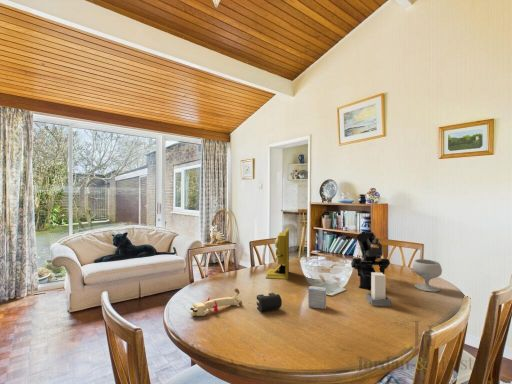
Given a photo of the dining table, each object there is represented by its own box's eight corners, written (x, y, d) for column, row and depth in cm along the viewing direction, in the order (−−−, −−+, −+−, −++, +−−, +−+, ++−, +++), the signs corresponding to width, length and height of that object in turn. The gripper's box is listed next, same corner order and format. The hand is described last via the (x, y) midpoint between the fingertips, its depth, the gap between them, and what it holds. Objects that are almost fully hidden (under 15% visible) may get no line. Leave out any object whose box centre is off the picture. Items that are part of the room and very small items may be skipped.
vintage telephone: (269, 267, 198) (269, 225, 198) (289, 268, 196) (289, 225, 196) (264, 281, 167) (264, 231, 167) (287, 283, 165) (288, 232, 165)
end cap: (261, 314, 123) (261, 299, 123) (255, 308, 130) (255, 293, 130) (281, 311, 127) (282, 296, 127) (275, 305, 133) (275, 291, 133)
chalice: (414, 290, 153) (414, 263, 153) (410, 283, 166) (411, 257, 166) (444, 294, 148) (444, 266, 148) (438, 286, 161) (438, 260, 161)
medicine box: (326, 305, 133) (326, 287, 133) (325, 309, 128) (325, 290, 128) (309, 303, 135) (309, 285, 135) (308, 307, 131) (308, 288, 131)
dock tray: (366, 298, 142) (366, 292, 142) (383, 299, 141) (384, 293, 141) (372, 305, 133) (372, 299, 133) (391, 306, 132) (391, 300, 132)
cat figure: (232, 303, 139) (185, 311, 124) (234, 285, 139) (187, 291, 124) (244, 309, 131) (195, 320, 116) (245, 291, 132) (196, 298, 116)
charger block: (371, 298, 140) (371, 272, 140) (381, 298, 139) (381, 272, 139) (374, 302, 135) (374, 275, 135) (385, 302, 134) (385, 275, 134)
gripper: (352, 243, 149) (359, 269, 138) (388, 243, 148) (398, 270, 137) (348, 254, 157) (354, 280, 146) (382, 255, 156) (391, 281, 145)
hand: (374, 277), depth 143 cm, fingers open, 9 cm apart
